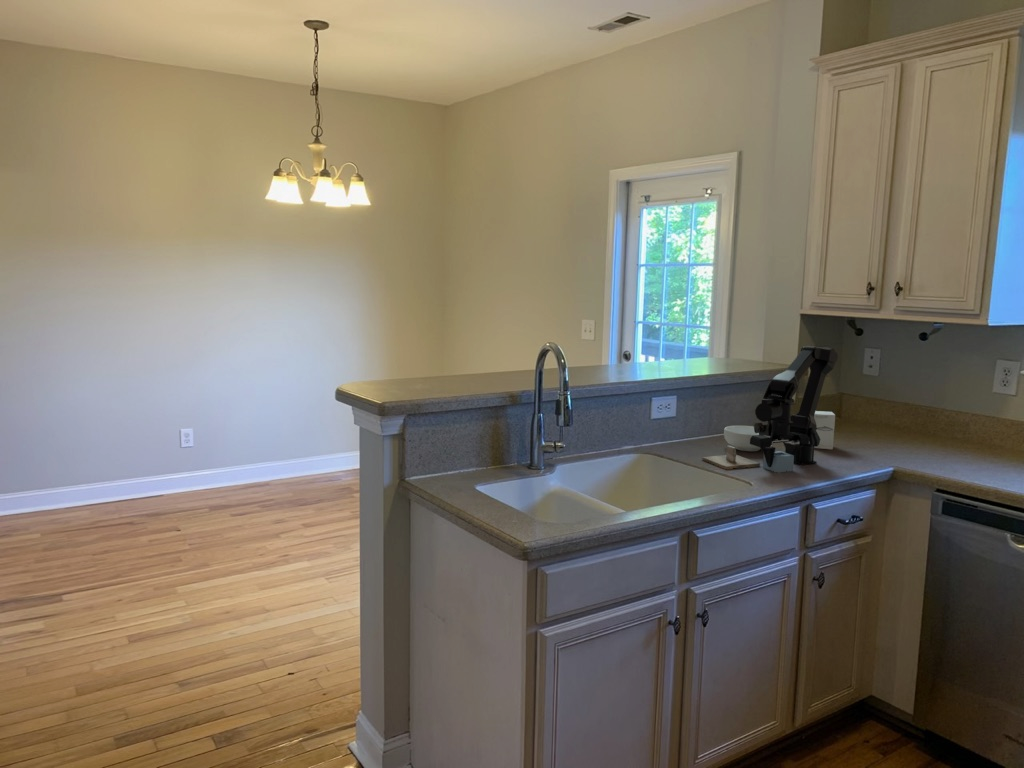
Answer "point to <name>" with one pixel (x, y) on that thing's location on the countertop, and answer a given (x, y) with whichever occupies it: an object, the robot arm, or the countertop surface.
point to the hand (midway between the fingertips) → (778, 466)
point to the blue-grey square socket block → (780, 462)
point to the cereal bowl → (741, 437)
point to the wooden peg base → (731, 460)
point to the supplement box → (825, 428)
